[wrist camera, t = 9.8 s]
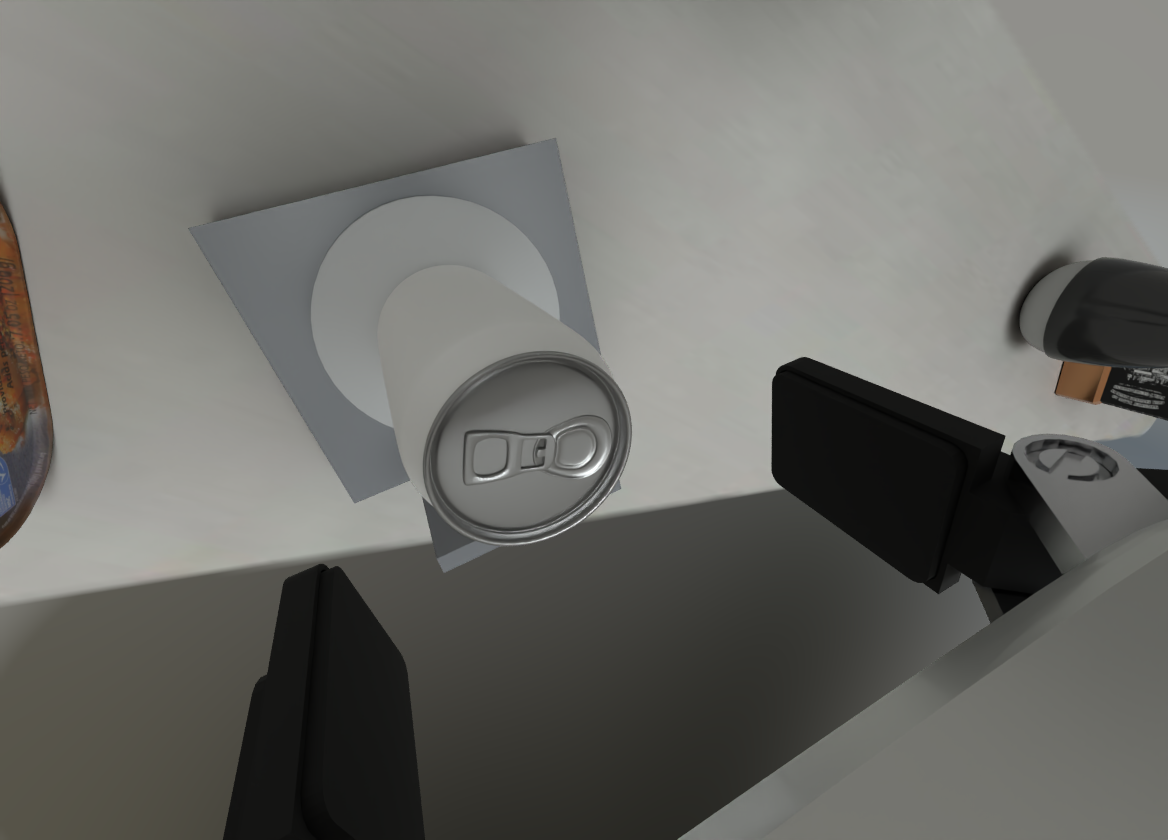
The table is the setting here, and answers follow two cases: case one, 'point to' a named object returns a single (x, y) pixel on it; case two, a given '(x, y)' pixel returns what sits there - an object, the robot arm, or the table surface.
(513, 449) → the can
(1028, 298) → the pump dispenser
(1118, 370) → the whiskey bottle
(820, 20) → the table surface
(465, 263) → the scale
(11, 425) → the tin
